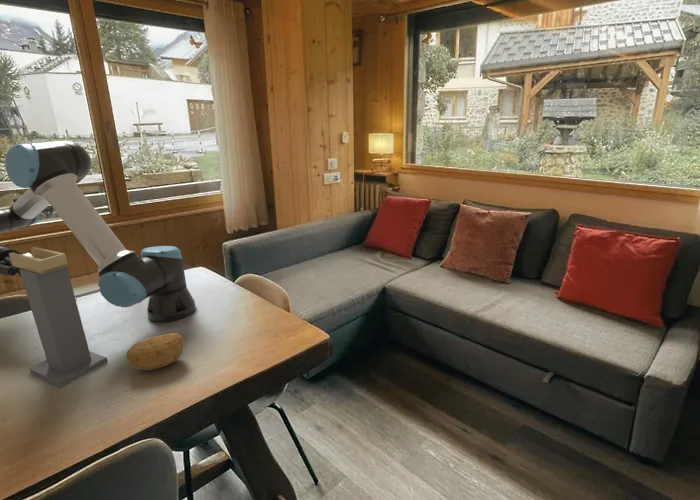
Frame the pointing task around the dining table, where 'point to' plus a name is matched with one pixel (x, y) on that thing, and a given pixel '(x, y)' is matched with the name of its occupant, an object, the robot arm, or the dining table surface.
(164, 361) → the potato
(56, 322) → the stand
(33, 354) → the dining table surface
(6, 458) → the dining table surface
